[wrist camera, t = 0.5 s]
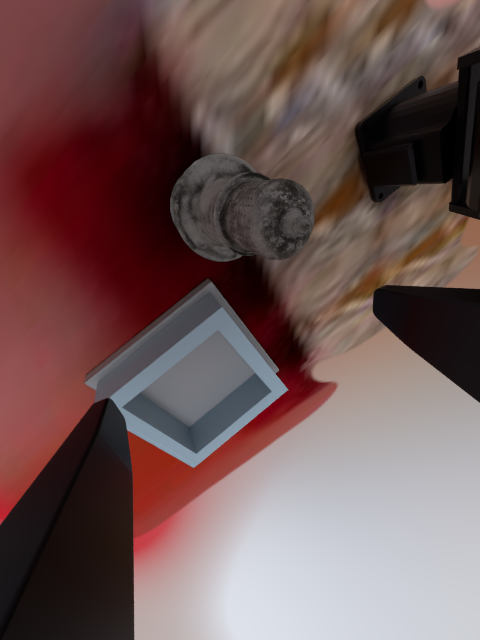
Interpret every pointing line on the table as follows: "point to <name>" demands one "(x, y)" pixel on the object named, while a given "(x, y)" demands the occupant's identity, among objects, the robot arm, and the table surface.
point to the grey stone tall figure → (239, 211)
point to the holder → (190, 377)
